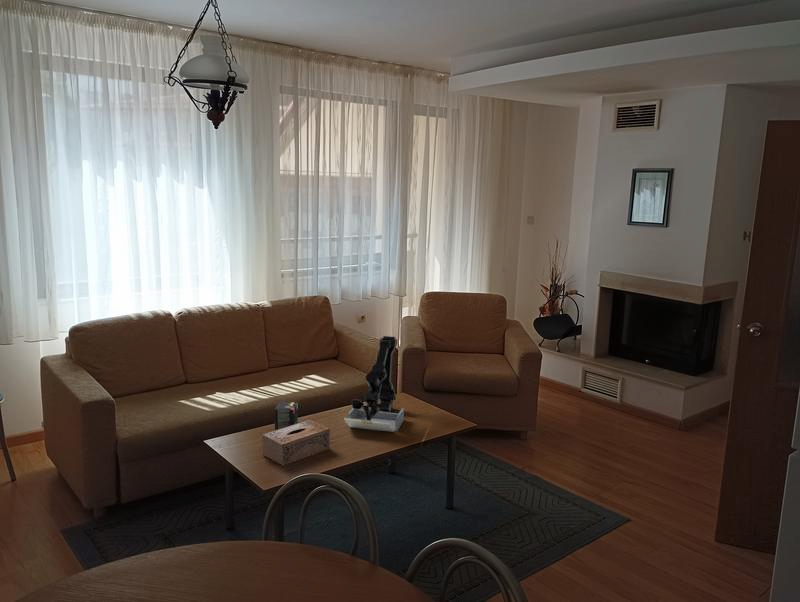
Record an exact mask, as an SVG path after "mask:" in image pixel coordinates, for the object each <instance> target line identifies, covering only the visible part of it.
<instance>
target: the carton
mask: <svg viewBox="0 0 800 602" xmlns="http://www.w3.org/2000/svg"><path fill="white" fill-rule="evenodd" d="M404 417H405V408H403V407H402V408H401V409H400V411H399V412H398V413H395V412H384V411H379V412H378V413H376V414H375V415H374V416H373V417H372V419H371V420H370V421H378V422H387V423H390V424H391V426H392V428H393V430H394V431H395V432H398V431H399V429H400V427H401V425H402V424H403V422H404V420H405V418H404ZM347 418H349V419H359V420H367V418H366V411H364V409H354V408H353V407H352V408H351V409H350V410H349V412H348V413H347Z"/></svg>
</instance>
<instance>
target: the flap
mask: <svg viewBox="0 0 800 602" xmlns="http://www.w3.org/2000/svg"><path fill="white" fill-rule="evenodd" d="M343 420H344V422H345V424H347V427H349V428H354V429H364V430H372V431H383V432H389V433H390V432H391V433H394V430H393V428H392V426H391V424H390V423H387V422H378V421H369V420H359V419H349V418H348V417H344V419H343Z"/></svg>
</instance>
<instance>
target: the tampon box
mask: <svg viewBox="0 0 800 602" xmlns="http://www.w3.org/2000/svg"><path fill="white" fill-rule="evenodd" d="M298 403H299V402H297V401H296V402H295V401H279V402H278V403H277V405H276V406H275V408H274V411H273V412H274V431H275V430H279V429H282V428H285V427H288V426H292V425H295V424H298V422H299V420H298V416H299V415H298V411H299V409H298V407H299V405H298Z"/></svg>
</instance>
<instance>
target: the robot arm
mask: <svg viewBox="0 0 800 602" xmlns="http://www.w3.org/2000/svg"><path fill="white" fill-rule="evenodd" d="M397 346H398V339H396V336H391V335H390V336H389V335H388V336H387V335H383V336H382V337H380V338H379V349H378V353H377V356H376V357H377V358H376V361H375V363H374V364H373V365H372V368H371V369H370V370H369V372H368V373H367V374H366V376H365V381H366V383H367V385H368V390H367V392H364V396H363V397H364V398H363V399H364V402H363V401H362V400H361V399H357V398H353V399H352V400H351V403H350V404H351V407H352V408H354V409H358V410H364V411H366V418H367V420H369V421H370V420H371V419H372V417H373V416H374V415H375V414H376V413H378V412H380V411H381V410H382V411H381V412H388V413H392V411H395V408H394V407H393V401H395V400H396V392H395V389H394V385H393V382H392V364H393V353H394V352H395V350H396V347H397ZM379 400H380V401H379ZM391 410H392V411H391Z"/></svg>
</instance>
